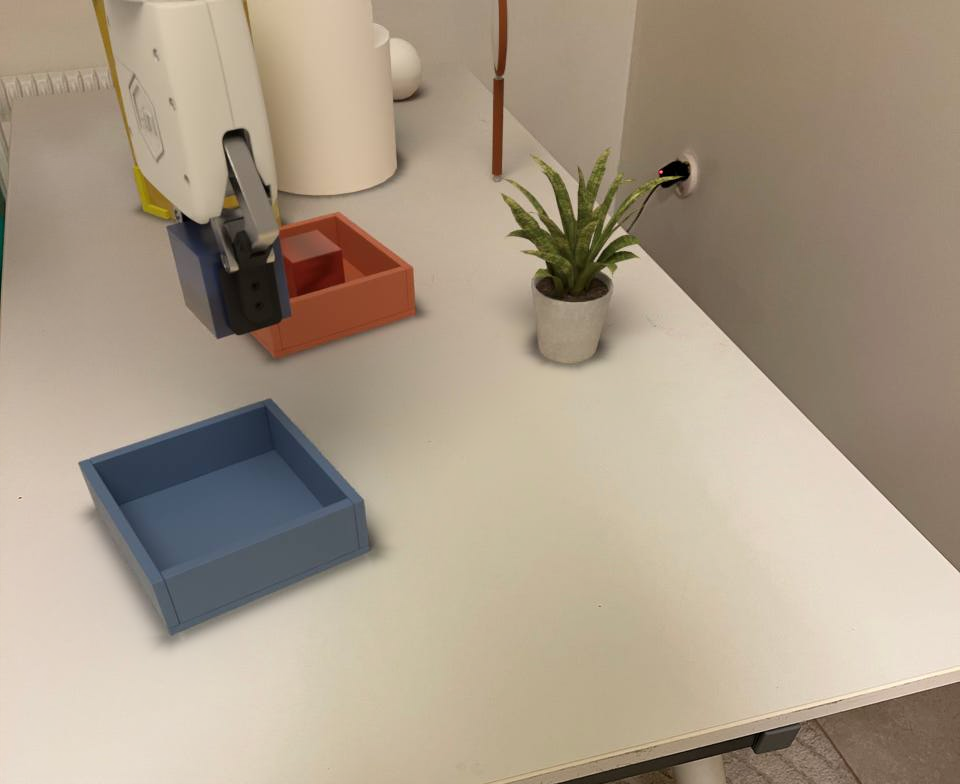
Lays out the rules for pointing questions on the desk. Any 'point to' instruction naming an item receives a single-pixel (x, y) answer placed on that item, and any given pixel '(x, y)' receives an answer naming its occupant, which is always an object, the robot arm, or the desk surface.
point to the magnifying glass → (498, 79)
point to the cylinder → (325, 93)
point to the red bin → (344, 291)
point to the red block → (311, 263)
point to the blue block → (212, 272)
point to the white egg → (404, 68)
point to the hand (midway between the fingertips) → (237, 304)
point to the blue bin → (225, 512)
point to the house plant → (575, 261)
